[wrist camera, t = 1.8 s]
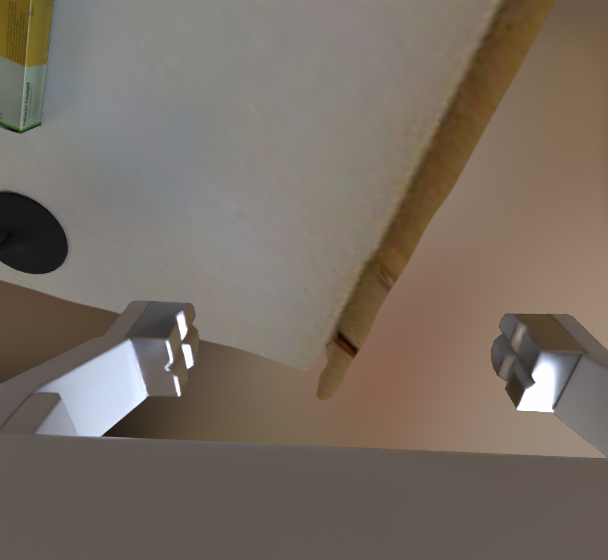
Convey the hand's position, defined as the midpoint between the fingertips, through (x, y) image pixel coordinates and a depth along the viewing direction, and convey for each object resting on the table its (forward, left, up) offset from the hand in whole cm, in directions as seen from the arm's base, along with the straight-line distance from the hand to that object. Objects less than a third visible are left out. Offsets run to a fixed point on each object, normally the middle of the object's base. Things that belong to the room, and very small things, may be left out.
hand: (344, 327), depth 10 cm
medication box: (-25, -12, -32) cm, 42 cm away
